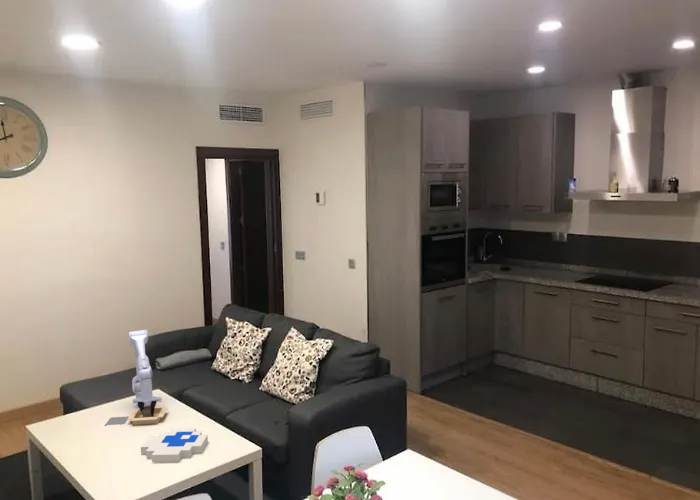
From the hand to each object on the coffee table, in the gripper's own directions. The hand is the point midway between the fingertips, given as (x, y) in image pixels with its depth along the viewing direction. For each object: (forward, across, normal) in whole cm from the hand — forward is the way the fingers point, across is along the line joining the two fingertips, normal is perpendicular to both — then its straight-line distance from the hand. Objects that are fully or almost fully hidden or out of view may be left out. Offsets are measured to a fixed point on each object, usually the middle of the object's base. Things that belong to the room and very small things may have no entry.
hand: (148, 415), depth 311 cm
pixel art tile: (+3, +21, -37) cm, 43 cm away
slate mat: (+2, -16, 0) cm, 16 cm away
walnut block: (+2, 0, 0) cm, 2 cm away
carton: (+2, 0, 0) cm, 2 cm away
